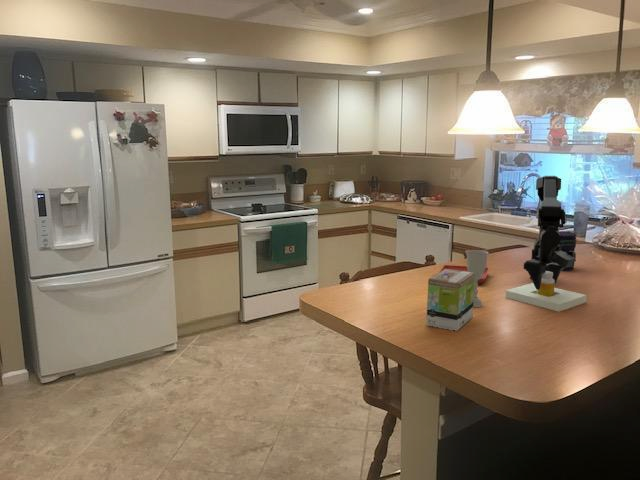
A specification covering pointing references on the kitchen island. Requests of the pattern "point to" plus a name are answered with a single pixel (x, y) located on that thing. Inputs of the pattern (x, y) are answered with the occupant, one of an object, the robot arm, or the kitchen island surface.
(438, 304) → the tea box
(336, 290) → the kitchen island surface
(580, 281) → the kitchen island surface
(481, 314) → the kitchen island surface
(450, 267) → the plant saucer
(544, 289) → the supplement bottle
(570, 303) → the socket board
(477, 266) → the chalice
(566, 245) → the storage jar
